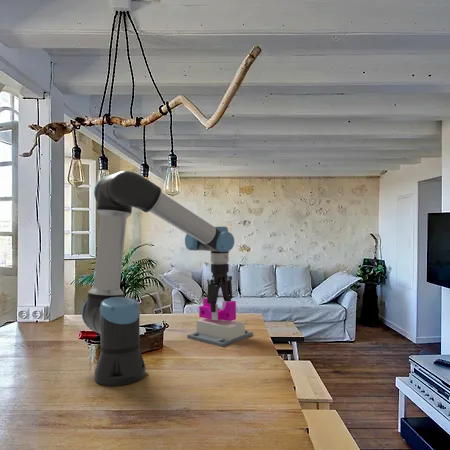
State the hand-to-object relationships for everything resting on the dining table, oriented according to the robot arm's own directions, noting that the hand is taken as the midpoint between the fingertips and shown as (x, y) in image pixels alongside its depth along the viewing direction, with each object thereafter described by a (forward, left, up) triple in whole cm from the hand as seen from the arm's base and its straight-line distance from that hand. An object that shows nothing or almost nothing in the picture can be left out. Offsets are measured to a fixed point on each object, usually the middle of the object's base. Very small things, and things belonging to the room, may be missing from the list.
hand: (220, 318), depth 156 cm
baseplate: (0, 0, -8) cm, 8 cm away
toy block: (0, +2, 0) cm, 2 cm away
